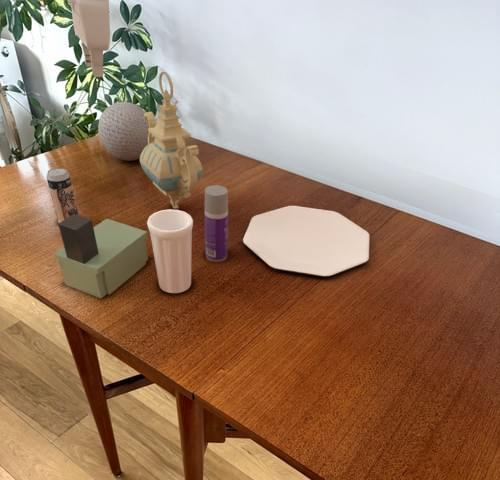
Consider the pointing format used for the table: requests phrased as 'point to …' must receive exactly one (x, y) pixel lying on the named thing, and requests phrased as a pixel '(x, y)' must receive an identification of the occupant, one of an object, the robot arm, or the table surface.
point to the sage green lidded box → (107, 259)
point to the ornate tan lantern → (170, 152)
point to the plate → (307, 241)
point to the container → (216, 223)
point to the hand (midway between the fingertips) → (94, 70)
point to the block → (78, 238)
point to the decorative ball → (124, 130)
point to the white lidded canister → (62, 193)
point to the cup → (172, 248)
